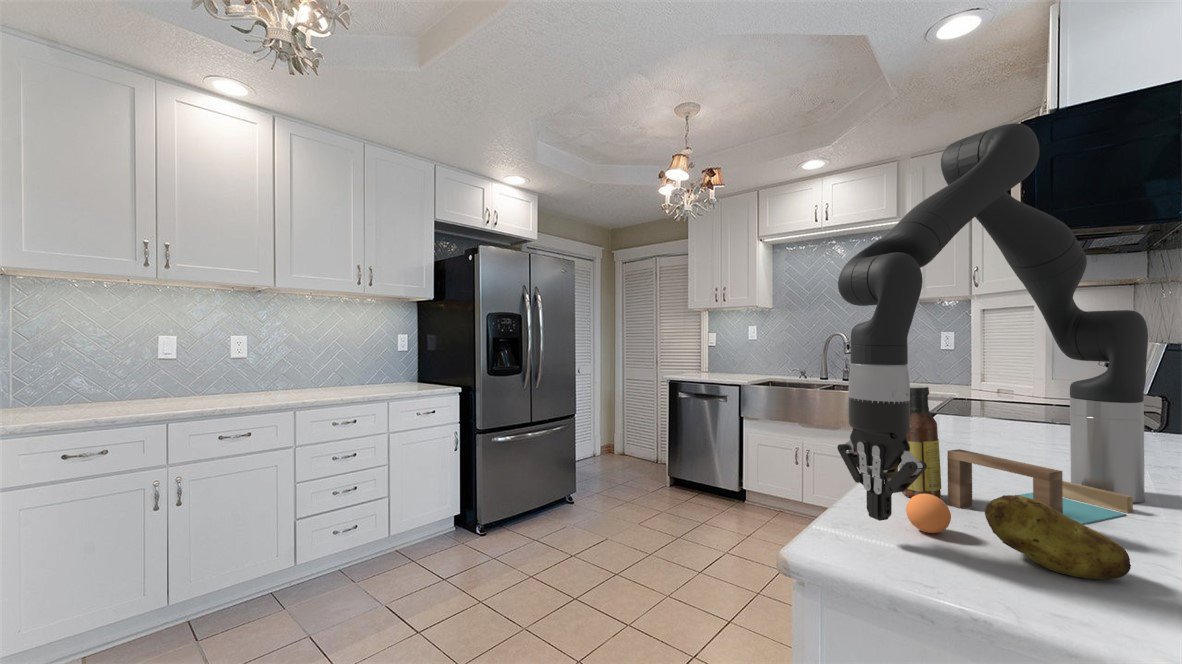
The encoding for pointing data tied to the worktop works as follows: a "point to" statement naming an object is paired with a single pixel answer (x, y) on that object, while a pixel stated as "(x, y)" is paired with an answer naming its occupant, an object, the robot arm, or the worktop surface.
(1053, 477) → the bridge
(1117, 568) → the potato
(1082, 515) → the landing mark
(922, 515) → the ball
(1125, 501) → the stopper strip
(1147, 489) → the worktop surface
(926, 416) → the sauce bottle
